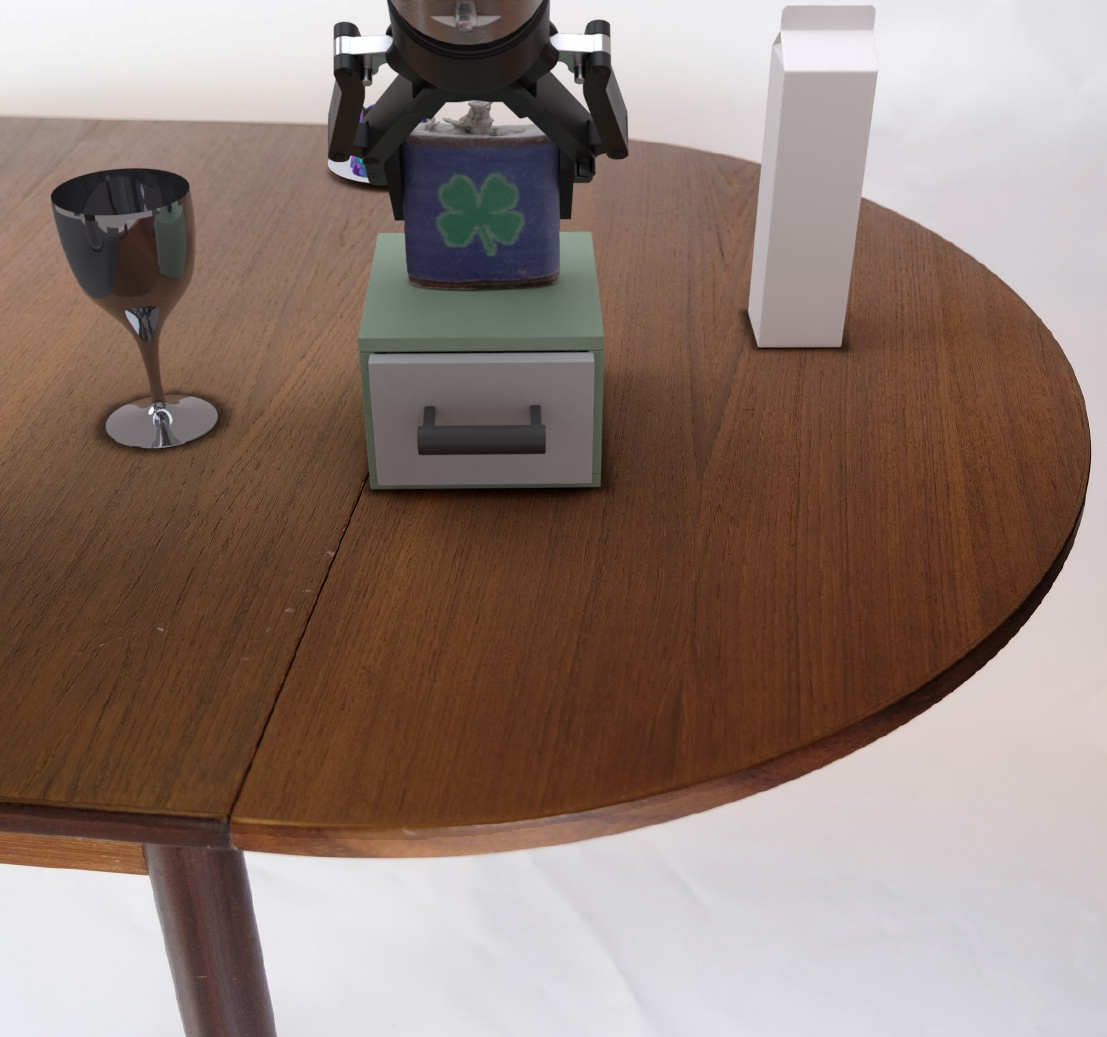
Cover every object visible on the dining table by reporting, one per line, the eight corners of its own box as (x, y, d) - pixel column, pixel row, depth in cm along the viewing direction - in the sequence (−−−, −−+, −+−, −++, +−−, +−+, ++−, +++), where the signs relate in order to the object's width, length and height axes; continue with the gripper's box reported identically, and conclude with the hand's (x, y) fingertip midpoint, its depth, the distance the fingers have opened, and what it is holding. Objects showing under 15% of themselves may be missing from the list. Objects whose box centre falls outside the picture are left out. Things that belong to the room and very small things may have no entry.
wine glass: (142, 385, 97) (100, 161, 88) (247, 403, 95) (215, 176, 86) (73, 439, 91) (21, 205, 82) (183, 460, 89) (142, 223, 80)
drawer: (595, 522, 82) (598, 396, 77) (372, 525, 81) (361, 398, 77) (581, 372, 97) (583, 259, 92) (393, 374, 96) (385, 260, 92)
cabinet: (600, 487, 87) (604, 335, 81) (370, 489, 86) (357, 337, 80) (588, 369, 99) (591, 230, 93) (387, 371, 99) (377, 232, 93)
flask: (559, 271, 88) (560, 88, 81) (560, 290, 86) (561, 104, 79) (408, 272, 88) (396, 89, 81) (404, 291, 85) (392, 104, 79)
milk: (747, 314, 107) (774, -7, 93) (829, 313, 107) (867, -8, 94) (757, 349, 102) (787, 16, 89) (843, 348, 102) (886, 15, 89)
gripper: (222, 55, 64) (300, 259, 86) (712, 52, 65) (665, 256, 87) (224, -101, 65) (301, 141, 87) (707, -103, 65) (661, 138, 88)
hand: (482, 198), depth 87 cm, fingers closed on flask, 9 cm apart
